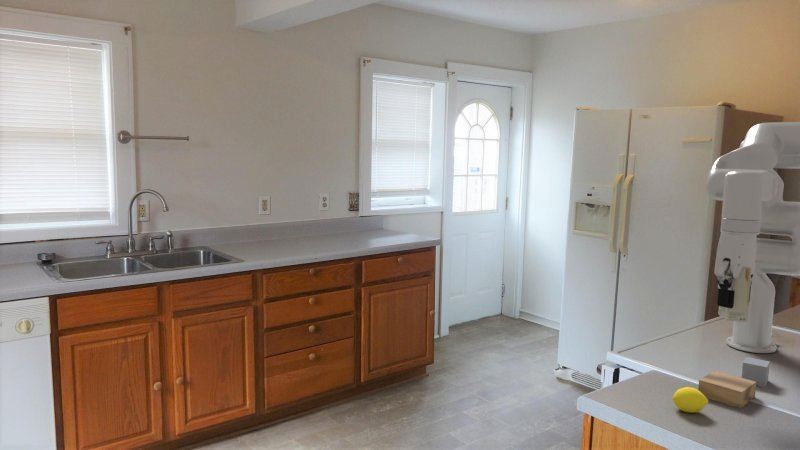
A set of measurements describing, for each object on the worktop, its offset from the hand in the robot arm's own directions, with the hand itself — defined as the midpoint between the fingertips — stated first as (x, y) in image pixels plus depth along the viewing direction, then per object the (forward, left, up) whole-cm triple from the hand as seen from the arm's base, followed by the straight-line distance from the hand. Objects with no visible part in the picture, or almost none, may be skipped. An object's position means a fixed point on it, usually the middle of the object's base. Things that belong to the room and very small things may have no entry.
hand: (733, 303), depth 132 cm
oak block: (0, 0, -22) cm, 22 cm away
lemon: (+15, -1, -22) cm, 27 cm away
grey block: (-15, 0, -22) cm, 26 cm away
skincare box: (0, 0, -4) cm, 4 cm away
